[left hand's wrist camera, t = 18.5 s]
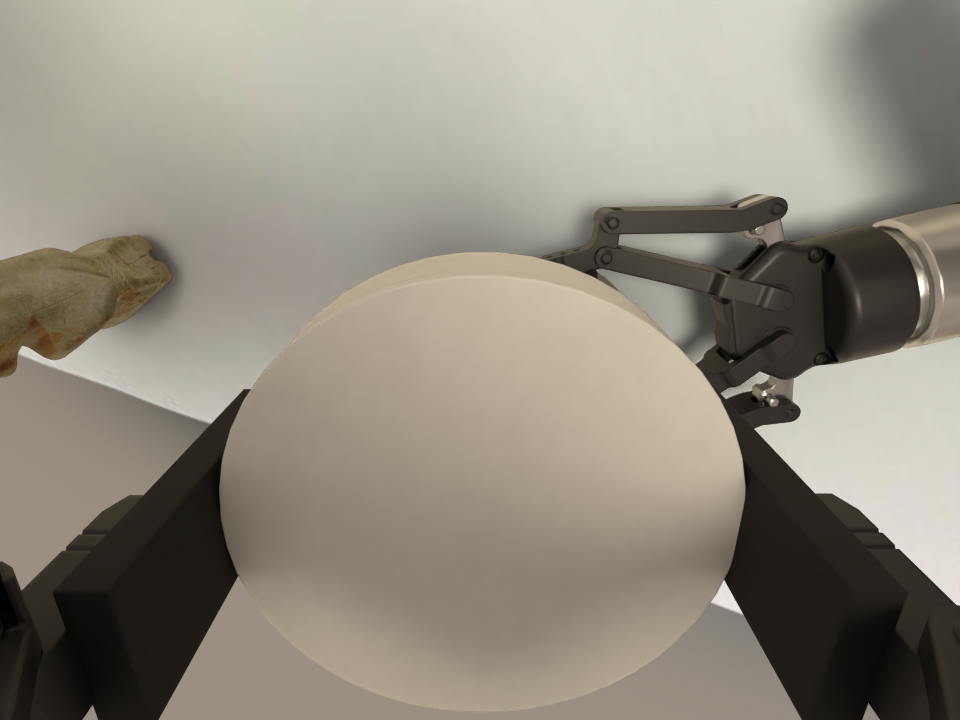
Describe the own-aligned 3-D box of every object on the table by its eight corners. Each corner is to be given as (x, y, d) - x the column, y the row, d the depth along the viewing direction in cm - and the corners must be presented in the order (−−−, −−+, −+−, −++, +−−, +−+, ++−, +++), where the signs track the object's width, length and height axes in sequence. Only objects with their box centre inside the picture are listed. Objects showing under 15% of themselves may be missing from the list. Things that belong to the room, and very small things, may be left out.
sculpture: (63, 262, 38) (-182, 325, 24) (144, 212, 37) (-65, 248, 23) (119, 333, 40) (-79, 431, 26) (198, 288, 39) (35, 365, 25)
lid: (556, 143, 10) (573, 143, 8) (777, 521, 13) (827, 586, 11) (162, 420, 12) (103, 471, 10) (432, 691, 15) (425, 770, 13)
